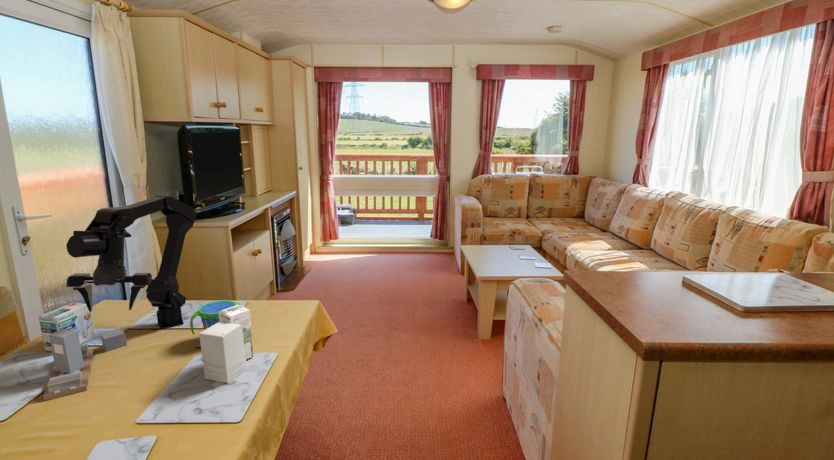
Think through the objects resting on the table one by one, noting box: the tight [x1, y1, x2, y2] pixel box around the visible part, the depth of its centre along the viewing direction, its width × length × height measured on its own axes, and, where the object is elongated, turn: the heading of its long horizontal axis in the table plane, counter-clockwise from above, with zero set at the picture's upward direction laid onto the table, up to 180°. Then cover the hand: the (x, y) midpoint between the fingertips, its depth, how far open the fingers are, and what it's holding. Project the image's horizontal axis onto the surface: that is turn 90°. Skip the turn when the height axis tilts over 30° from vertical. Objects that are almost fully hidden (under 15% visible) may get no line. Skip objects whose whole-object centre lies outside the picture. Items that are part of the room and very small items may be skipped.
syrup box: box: [219, 304, 254, 361], centre depth 120 cm, size 6×6×14 cm
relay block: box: [100, 328, 128, 353], centre depth 128 cm, size 5×4×4 cm
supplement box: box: [198, 322, 248, 384], centre depth 113 cm, size 7×7×13 cm
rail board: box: [43, 343, 95, 401], centre depth 114 cm, size 22×8×3 cm, turn 32°
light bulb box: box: [38, 302, 96, 352], centre depth 129 cm, size 11×7×11 cm, turn 168°
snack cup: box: [189, 300, 242, 335], centre depth 132 cm, size 16×10×10 cm
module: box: [49, 329, 84, 374], centre depth 113 cm, size 4×5×10 cm
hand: (110, 310), depth 122 cm, fingers open, 9 cm apart
